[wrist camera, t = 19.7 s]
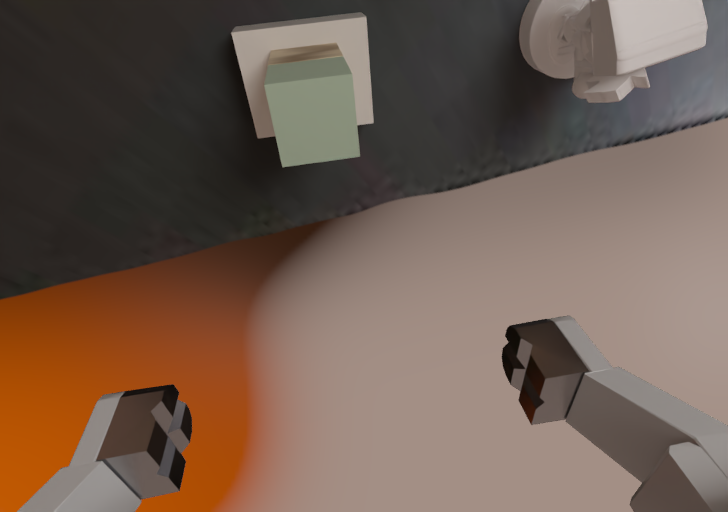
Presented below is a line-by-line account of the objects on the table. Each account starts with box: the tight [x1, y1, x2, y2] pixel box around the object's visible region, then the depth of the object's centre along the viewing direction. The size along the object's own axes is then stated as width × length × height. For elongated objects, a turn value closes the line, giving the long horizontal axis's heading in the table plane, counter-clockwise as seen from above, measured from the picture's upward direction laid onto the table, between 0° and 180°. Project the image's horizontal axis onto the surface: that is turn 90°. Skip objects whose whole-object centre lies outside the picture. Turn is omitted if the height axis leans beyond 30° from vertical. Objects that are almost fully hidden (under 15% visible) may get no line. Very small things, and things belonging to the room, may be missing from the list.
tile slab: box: [231, 12, 374, 138], centre depth 33 cm, size 10×8×3 cm
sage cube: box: [264, 56, 360, 167], centre depth 26 cm, size 5×5×5 cm
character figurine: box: [519, 0, 708, 103], centre depth 30 cm, size 9×10×12 cm
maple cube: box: [268, 43, 343, 65], centre depth 30 cm, size 5×5×5 cm
